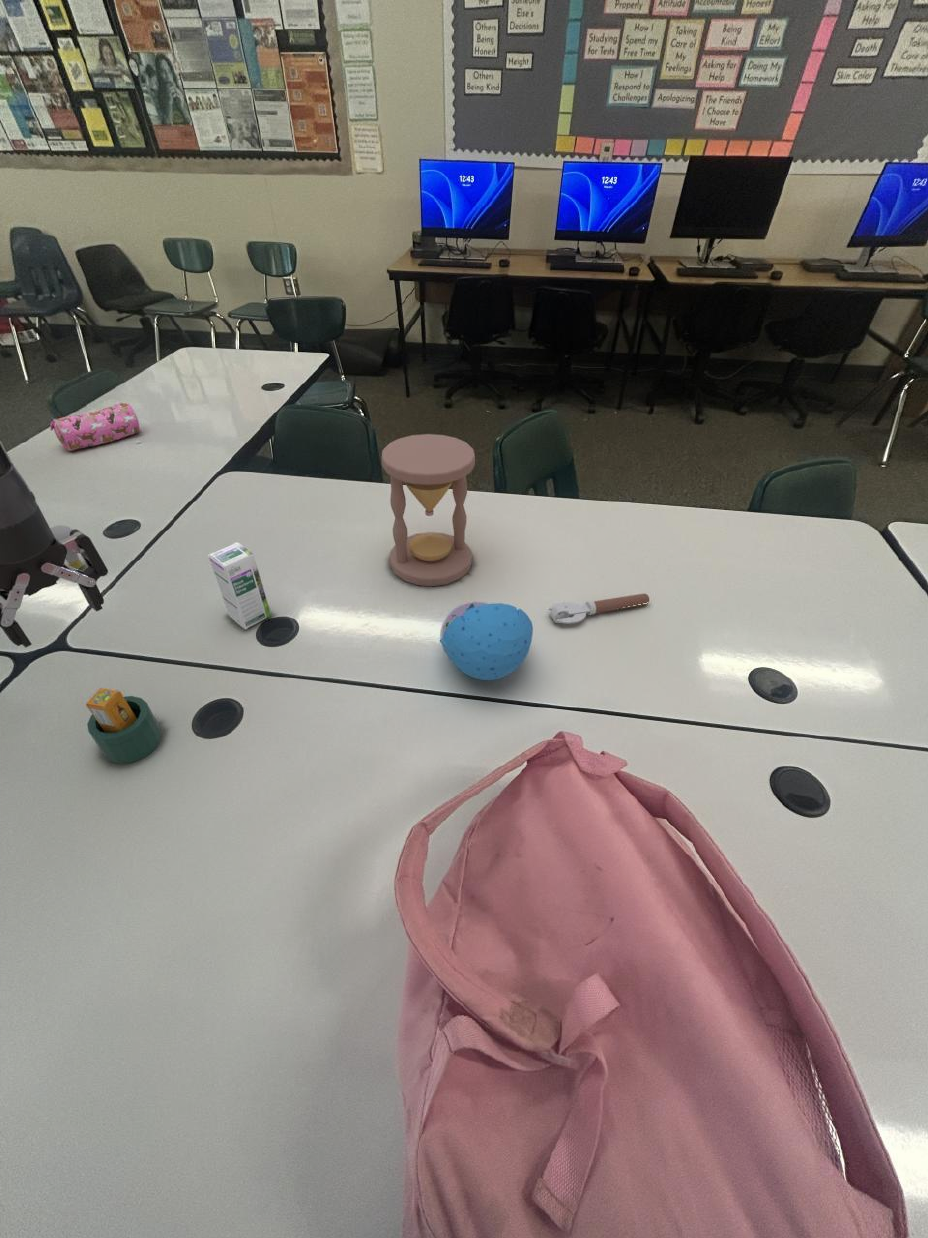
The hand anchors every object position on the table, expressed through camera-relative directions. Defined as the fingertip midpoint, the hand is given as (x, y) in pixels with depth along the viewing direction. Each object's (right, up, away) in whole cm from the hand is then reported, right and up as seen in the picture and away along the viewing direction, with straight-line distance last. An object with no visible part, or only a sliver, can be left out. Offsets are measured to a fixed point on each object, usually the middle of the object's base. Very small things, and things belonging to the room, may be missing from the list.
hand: (62, 625), depth 70 cm
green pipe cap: (0, -18, +14) cm, 23 cm away
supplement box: (0, -18, +14) cm, 23 cm away
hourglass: (+43, +13, +51) cm, 68 cm away
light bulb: (-31, +11, +47) cm, 58 cm away
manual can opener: (+76, +2, +40) cm, 86 cm away
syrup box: (+10, +1, +37) cm, 38 cm away
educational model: (+53, -7, +29) cm, 61 cm away
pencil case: (-56, +53, +95) cm, 122 cm away
